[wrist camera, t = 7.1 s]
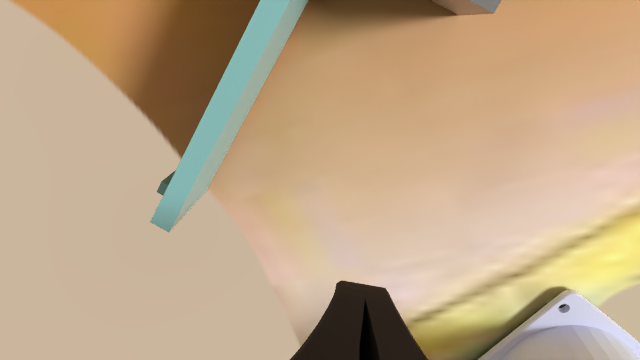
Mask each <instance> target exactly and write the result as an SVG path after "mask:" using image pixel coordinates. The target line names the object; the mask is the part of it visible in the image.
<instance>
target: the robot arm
mask: <svg viewBox="0 0 640 360" xmlns="http://www.w3.org/2000/svg"><path fill="white" fill-rule="evenodd" d="M562 304H566V305H565V306H564V307H563V308H559V306H560V305H562ZM290 360H428V359H427V358H426V356H425V355H424V353H423V352H422V350H421V349H420V347H419V346H418V344H417V343H416V341H415V339H414V338H413V336H412V335H411V333H410V331H409V330H408V328H407V327H406V325H405V323H404V321H403V320H402V318H401V316H400V314H399V312H398V311H397V309H396V307H395V305H394V303H393V301H392V299H391V297H390V295H389V293H388V291H387V290H386V289H385V288H382V287H376V286H370V285H365V284H359V283H353V282H347V281H340V282H338V283H337V284H336V290H335V293H334V296H333V298H332V300H331V302H330V304H329V306H328V308H327V310H326V311H325V313H324V315H323V316H322V318H321V320H320V321H319V323H318V325H317V326H316V327H315V329H314V330H313V332H312V333H311V334H310V336H309V337H308V339H307V340H306V341H305V343H304V344H303V345H302V346H301V348H300V349H299V350H298V351H297V352H296V354H295V355H294V356H293V357H292V358H291V359H290ZM478 360H640V342H639V341H637V340H636V339H635V338H634V337H633V336H631V335H630V334H629V333H628V332H626V331H625V330H624V329H623V328H621V327H620V326H619V325H618V324H617V323H615V322H614V321H613V320H612V319H610V318H609V317H608V316H607V315H606V314H604V313H603V312H602V311H601V310H599V309H598V308H597V307H596V306H594V305H593V304H592V303H591V302H590V301H588V300H587V299H586V298H585V297H583V296H582V295H581V294H580V293H578V292H577V291H575V290H572V289H568V290H565V291H563V292H561V293H560V294H559V295H558V296H556V297H555V298H554V299H553V300H551V301H550V302H549V303H548V304H546V305H545V306H544V307H543V308H541V309H540V310H539V311H538V312H536V313H535V314H534V315H533V316H531V317H530V318H529V319H528V320H526V321H525V322H524V323H523V324H521V325H520V326H519V327H518V328H516V329H515V330H514V331H513V332H512V333H510V334H509V335H508V336H507V337H505V338H504V339H503V340H502V341H500V342H499V343H498V344H497V345H495V346H494V347H493V348H492V349H490V350H489V351H488V352H487V353H485V354H484V355H483V356H482V357H480V358H479V359H478Z"/></svg>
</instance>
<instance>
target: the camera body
mask: <svg viewBox="0 0 640 360" xmlns="http://www.w3.org/2000/svg"><path fill="white" fill-rule="evenodd" d="M431 1H433V2H435V3H437V4H438V5H440V6H442V7H444V8H446V9H448V10H449V11H451V12H453V13H455V14H457V15H476V14H494V12H495V10H496V9H497V7H498V5H499V4H500V2H501V0H431Z"/></svg>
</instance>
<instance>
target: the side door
mask: <svg viewBox="0 0 640 360" xmlns="http://www.w3.org/2000/svg"><path fill="white" fill-rule="evenodd" d="M308 1H309V0H260V2H259V4H258V6H257V8H256V10H255V12H254V14H253V16H252V18H251V20H250V22H249V24H248V26H247V28H246V30H245V32H244V34H243V36H242V38H241V40H240V42H239V44H238V46H237V48H236V50H235V52H234V54H233V56H232V58H231V60H230V62H229V64H228V66H227V68H226V70H225V72H224V74H223V76H222V78H221V80H220V82H219V84H218V87H217V89H216V91H215V93H214V95H213V97H212V99H211V101H210V103H209V105H208V107H207V109H206V111H205V113H204V115H203V117H202V119H201V121H200V123H199V125H198V127H197V129H196V131H195V133H194V135H193V137H192V139H191V141H190V143H189V145H188V147H187V149H186V151H185V153H184V155H183V157H182V159H181V161H180V163H179V165H178V167H177V169H176V170H175V171H174V172H173V173H172V174H171V175H169V176H168V177H167V178H166V179H164V180H163V181H162V182H161V184H160V186H159V188H158V191H157V192H158V193H160V194H161V195H163V197H162V199H161V201H160V203H159V206H158V207H157V209H156V212H155V214H154V215H153V217H152V219H151V223H153V224H155V225H157V226H159V227H160V228H163V229H164V230H166V231H168V232H170V231H171V229H172V228H173V227H174V226H175V225H176V224H177V223H178V222H179V221H180V220H181V218H182V217H183V216H184V215H185V214H186V213H187V212H188V211H189V210H190V208H191V207H192V206H193V205H194V204H195V203H196V202H197V201H198V200H199V199H200V197H201V196H202V195H203V194H204V193H205V192H206V191H207V189H208V187H209V185H210V183H211V181H212V179H213V178H214V176H215V174H216V172H217V170H218V168H219V166H220V165H221V163H222V161H223V159H224V157H225V155H226V153H227V152H228V150H229V148H230V146H231V144H232V142H233V140H234V138H235V137H236V135H237V133H238V131H239V129H240V127H241V125H242V124H243V122H244V120H245V118H246V116H247V114H248V112H249V111H250V109H251V107H252V105H253V103H254V101H255V99H256V98H257V96H258V94H259V92H260V90H261V88H262V86H263V84H264V83H265V81H266V79H267V77H268V75H269V73H270V71H271V70H272V68H273V66H274V64H275V62H276V60H277V58H278V57H279V55H280V53H281V51H282V49H283V47H284V45H285V43H286V42H287V40H288V38H289V36H290V34H291V32H292V30H293V29H294V27H295V25H296V23H297V21H298V19H299V17H300V16H301V14H302V12H303V10H304V8H305V6H306V4H307V3H308Z"/></svg>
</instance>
